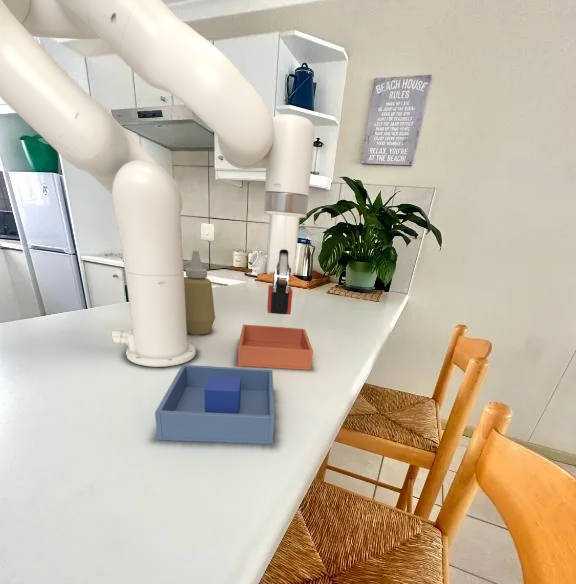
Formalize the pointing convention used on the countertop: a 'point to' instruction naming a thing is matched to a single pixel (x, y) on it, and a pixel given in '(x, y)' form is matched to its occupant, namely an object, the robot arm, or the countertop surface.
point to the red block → (271, 297)
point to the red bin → (274, 347)
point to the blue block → (223, 394)
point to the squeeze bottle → (198, 298)
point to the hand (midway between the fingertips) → (278, 309)
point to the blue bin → (217, 426)
